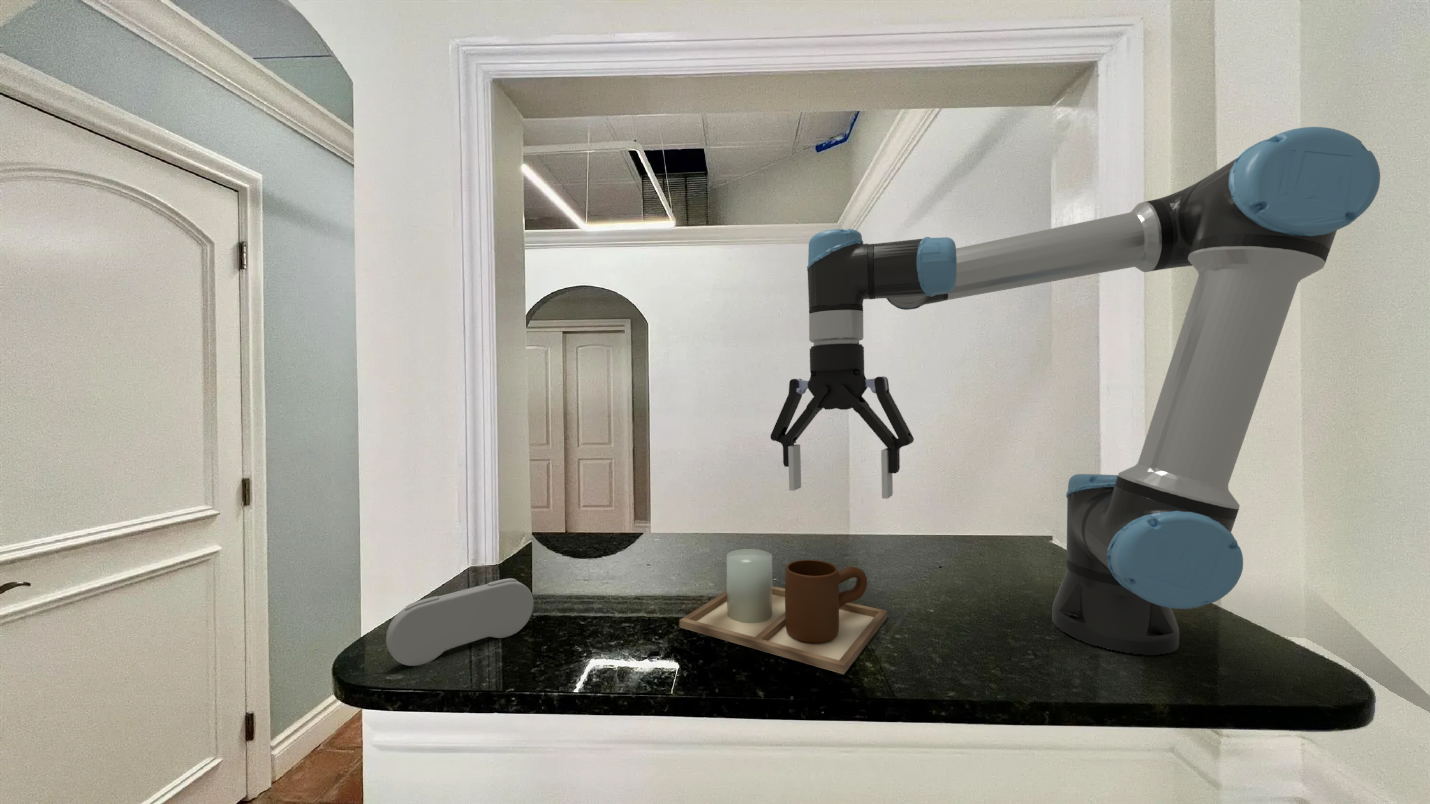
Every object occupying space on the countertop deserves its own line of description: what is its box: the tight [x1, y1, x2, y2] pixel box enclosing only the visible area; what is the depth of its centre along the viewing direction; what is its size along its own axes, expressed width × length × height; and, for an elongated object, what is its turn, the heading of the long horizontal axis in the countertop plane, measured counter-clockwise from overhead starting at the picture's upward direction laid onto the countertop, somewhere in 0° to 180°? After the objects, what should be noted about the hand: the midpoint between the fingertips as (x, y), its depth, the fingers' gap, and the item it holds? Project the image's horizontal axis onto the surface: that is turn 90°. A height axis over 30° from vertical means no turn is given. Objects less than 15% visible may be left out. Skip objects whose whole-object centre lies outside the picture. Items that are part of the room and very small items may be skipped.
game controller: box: [385, 577, 534, 667], centre depth 79 cm, size 20×2×8 cm, turn 133°
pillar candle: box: [726, 548, 773, 623], centre depth 87 cm, size 7×7×9 cm
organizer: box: [678, 585, 888, 675], centre depth 84 cm, size 25×19×2 cm
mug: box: [784, 559, 868, 643], centre depth 80 cm, size 12×8×9 cm, turn 97°
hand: (839, 492), depth 80 cm, fingers open, 13 cm apart
